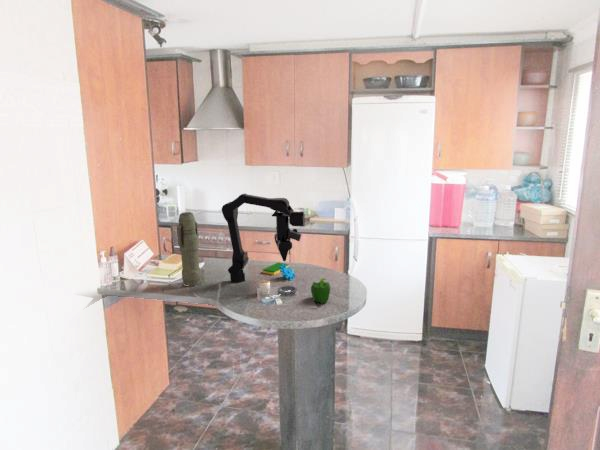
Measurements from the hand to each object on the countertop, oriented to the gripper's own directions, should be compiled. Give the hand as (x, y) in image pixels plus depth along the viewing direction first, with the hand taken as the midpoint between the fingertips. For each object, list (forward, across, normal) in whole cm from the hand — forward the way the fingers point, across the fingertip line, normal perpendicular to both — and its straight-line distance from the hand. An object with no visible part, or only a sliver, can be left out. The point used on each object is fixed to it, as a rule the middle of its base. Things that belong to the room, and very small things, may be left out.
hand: (283, 258), depth 199 cm
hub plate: (+13, -12, +4) cm, 18 cm away
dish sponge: (+14, +23, +1) cm, 27 cm away
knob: (+12, -12, +10) cm, 20 cm away
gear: (+14, +7, -3) cm, 16 cm away
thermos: (+14, +12, +44) cm, 48 cm away
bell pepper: (+13, -24, -13) cm, 30 cm away
